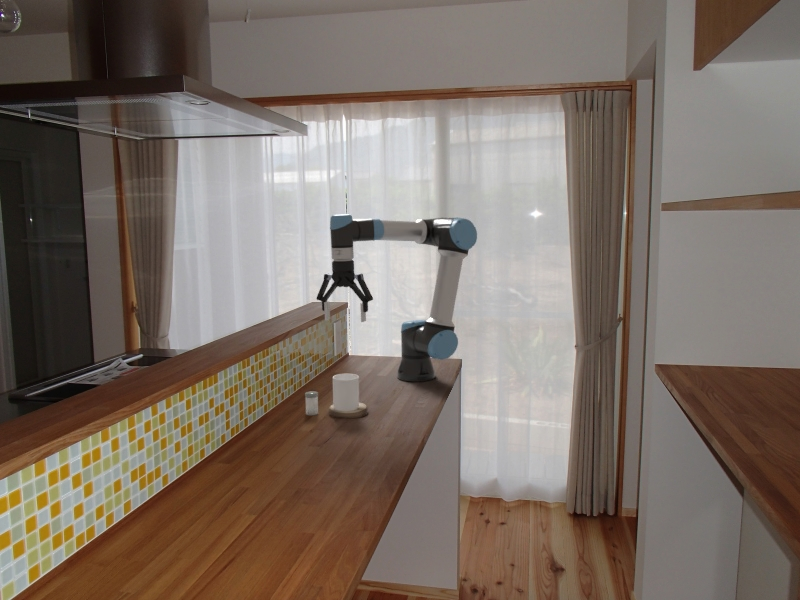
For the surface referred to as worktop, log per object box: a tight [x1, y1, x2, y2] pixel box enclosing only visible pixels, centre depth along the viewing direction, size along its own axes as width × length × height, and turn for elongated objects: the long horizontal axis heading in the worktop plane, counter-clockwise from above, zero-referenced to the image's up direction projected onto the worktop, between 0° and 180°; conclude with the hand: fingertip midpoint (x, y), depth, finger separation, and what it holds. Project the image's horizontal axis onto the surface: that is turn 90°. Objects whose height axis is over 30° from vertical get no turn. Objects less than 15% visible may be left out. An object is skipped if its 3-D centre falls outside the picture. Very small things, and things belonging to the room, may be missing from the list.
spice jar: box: [304, 390, 319, 416], centre depth 218 cm, size 4×4×7 cm
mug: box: [332, 373, 360, 412], centre depth 218 cm, size 9×12×11 cm
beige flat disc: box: [328, 401, 369, 420], centre depth 219 cm, size 13×13×2 cm
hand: (345, 320), depth 228 cm, fingers open, 13 cm apart
